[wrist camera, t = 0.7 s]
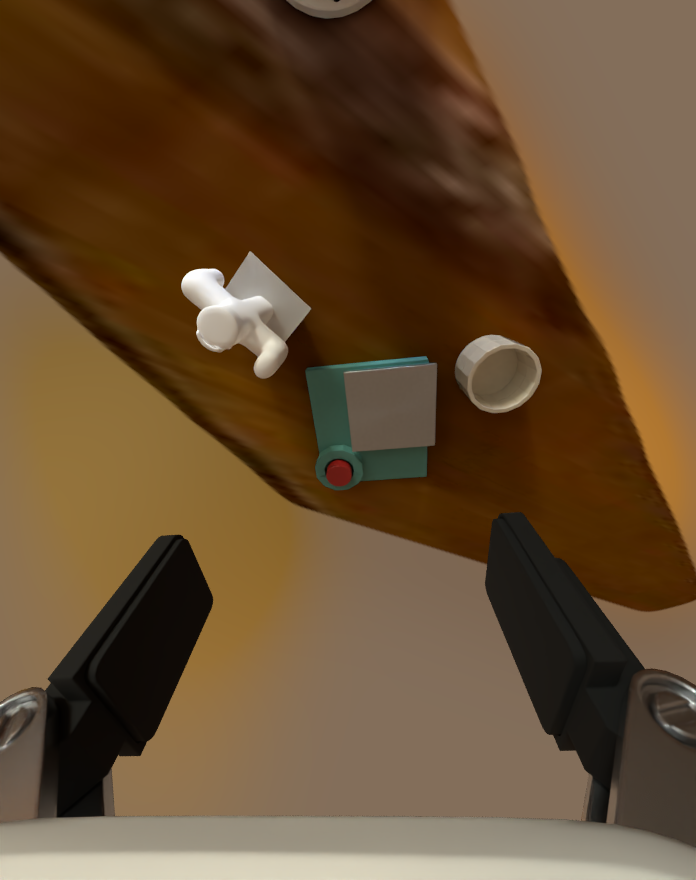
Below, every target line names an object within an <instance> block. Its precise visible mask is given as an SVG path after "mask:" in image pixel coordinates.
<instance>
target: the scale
mask: <svg viewBox="0 0 696 880" xmlns="http://www.w3.org/2000/svg"><path fill="white" fill-rule="evenodd" d="M419 363H428V358H427V357H426V356H423V357H413V358H402V359H392V360H382V361H372V362H362V363H351V364H341V365H331V366H321V367H311V368H307V369H306V371H305V372H306V378H307V384H308V390H309V396H310V402H311V407H312V413H313V419H314V425H315V431H316V436H317V442H318V448H319V454H320V455H319V457H318V459H317V461H316V466H315V469H316V475H317V478H318V479H319V480H320V482H321V483H322V484H323V485H324V486H326V487H328V488H331V489H334V490H348V489H350V488H352V487H353V486H355V485H357V484H358V483H359V481H371V480H385V479H399V478H413V477H426V476H427V446H421V447H408V448H396V449H383V450H370V451H357V452H352V444H351V435H350V426H349V417H348V409H347V400H346V391H345V383H344V374H343V372H344V371H348V370H357V369H367V368H378V367H388V366H398V365H409V364H419ZM339 459H340V460H344V461H346V462H348V463H349V464H350V466H351V468H352V477H351V480H350V482H349V483H348V484H347V485H344V486H334V485H332V484H330V483H329V482H328V480H327V478H326V473H327V467H328V465H329V464H330V463H331V462H332V461H334V460H339Z"/></svg>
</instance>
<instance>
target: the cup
mask: <svg viewBox="0 0 696 880" xmlns="http://www.w3.org/2000/svg"><path fill="white" fill-rule="evenodd" d="M541 371H542V369H541V366H540V362H539V358H538V356H537V355H536V354H535V353H534V352H533V351H532V350H531V349H530V348H528V347H526V346H524V345H522V344H520V343H517V342H515V341H513V340H511V339H508V338H505V337H503V336H499V335H488V336H483V337H480V338H478V339H476V340H474V341H473V342H471V343H470V344H469V345H468V346H466V347H465V349H464V350H463V351H462V352H461V354H460V355H459V357H458V359H457V362H456V366H455V378H456V381H457V383H458V385H459V387H460V389H461V390H462V391H463V392H464V393H465V395H466V396H467V397H468V398H469V399H470V400H471V402H472V403H474V404H475V405H476V406H477V407H478V408H479V409H481V410H483V411H487V412H490V413H502V412H508V411H510V410H513V409H515V408H517V407H519V406H521V405H522V404H523V403H524V402H526V401H527V400H528V399H529V398H530V397H531V396H532V395H533V393H534V391H535V390H536V388H537V387H538V385H539V382H540V376H541Z"/></svg>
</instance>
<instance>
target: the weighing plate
mask: <svg viewBox="0 0 696 880" xmlns="http://www.w3.org/2000/svg"><path fill="white" fill-rule="evenodd" d="M343 374H344V383H345V391H346V400H347V409H348V417H349V426H350V435H351V444H352V452H357V451H370V450H383V449H396V448H408V447H421V446H434V445H435V422H436V386H437V363H429V362H428V363H419V364H409V365H398V366H388V367H378V368H367V369H357V370H348V371H344V372H343Z"/></svg>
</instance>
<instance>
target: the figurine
mask: <svg viewBox="0 0 696 880" xmlns="http://www.w3.org/2000/svg"><path fill="white" fill-rule="evenodd" d="M223 284H224V277H223V275H222V273H221V272H220V271H218V270H216V269H197V270H193V271H191V272H189V273H188V274H187V275H186V276H185V277H184V278H183V280H182V284H181V288H182V291H183V293H184V295H185V296H186V297H187V298H188V299H189V300H190V301H191V302H192V303H194V304H195V305H196V306H197V307H198V308H200V309H201V310H202V311H201V312H200V313H199V315H198V318H197V328H198V330H197V332H196V335H197V337H198V339H199V341H200V342H201V344H202V345H203V346H204V347H206V348H207V349H209V350H211V351H214V352H222V351H224V350H225V349H231V347H232V346H233V345H235V344H237V343H239V344H242V345H244V346H245V347H247V348H248V349H249V350H250V351H252V352H253V353H254V354H255V355H256V356H257V357H258V358H257V360H256V362H255V364H254V372H255V374H256V375H257V376H258V377H259V378H268V377H270V376H272V375H273V374H274V373H275V372H276V371H277V369H278V368H279V367H280V366H281V364H282V363H283V362H284V360H285V359H286V357H287V354H288V347H287V345H286V343H285V341H286V340H287V339H288V338H289V336H290V335H291V334H292V333H293V331H294V330H295V329H296V327H297V326H298V325H299V324H300V322H301V321H302V320H303V319H304V317H305V316H306V315H307V314H308V312H309V311H310V310H311V308H310V307H309V306H308V305H307V304H306V303H305V302H304V301H302V300H301V299H300V298H299V297H298V296H297V295H296V294H295V293H294V292H293V291H292V290H291V289H290V288H289V287H288V286H287V285H286V284H284V283H283V282H282V281H281V280H280V279H279V278H278V277H277V276H276V275H275V274H274V273H273V272H272V271H271V270H270V269H269V268H267V267H266V266H265V265H264V264H263V263H262V262H261V261H260V260H259V259H258V258H257V257H256V256H255V255H254V254H253V253H252V252H249V254H248V255H247V257H246V258H245V260H244V261H243V263H242V264H241V266H240V267H239V269H238V270H237V272H236V274H235V275H234V277H233V278H232V280H231V281H230V283H229V284H228V286H227V287H226V289H224V288H223Z"/></svg>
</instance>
